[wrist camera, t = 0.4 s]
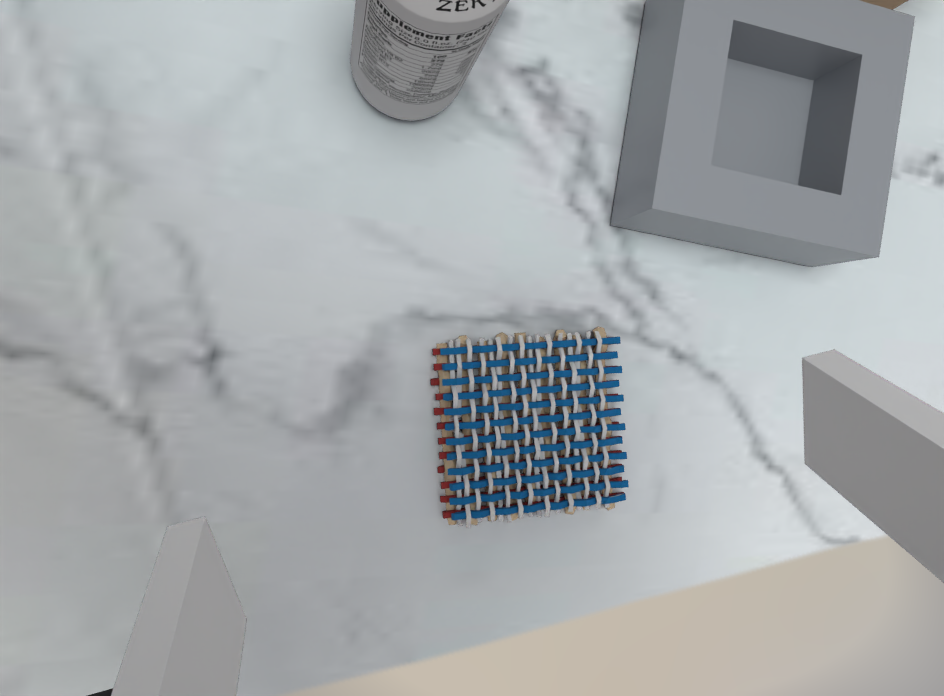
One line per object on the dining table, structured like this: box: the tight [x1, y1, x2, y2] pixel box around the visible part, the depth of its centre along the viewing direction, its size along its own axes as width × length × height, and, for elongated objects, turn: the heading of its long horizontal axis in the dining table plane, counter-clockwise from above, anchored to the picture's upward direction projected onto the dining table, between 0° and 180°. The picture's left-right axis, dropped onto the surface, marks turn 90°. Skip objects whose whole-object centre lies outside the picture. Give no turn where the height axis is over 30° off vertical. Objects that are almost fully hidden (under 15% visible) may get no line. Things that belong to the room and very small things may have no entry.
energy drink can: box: [350, 0, 509, 121], centre depth 33 cm, size 6×6×15 cm
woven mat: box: [431, 327, 629, 528], centre depth 42 cm, size 10×11×2 cm
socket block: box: [610, 0, 915, 267], centre depth 42 cm, size 13×13×6 cm
